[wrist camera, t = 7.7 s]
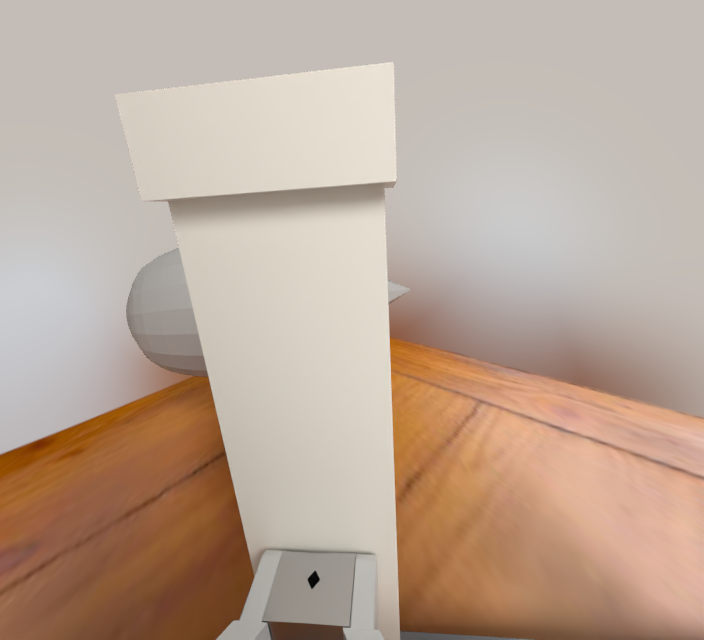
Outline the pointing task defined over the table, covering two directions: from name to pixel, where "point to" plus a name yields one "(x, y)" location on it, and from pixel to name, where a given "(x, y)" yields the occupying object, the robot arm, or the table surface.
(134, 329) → the jet engine
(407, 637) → the console
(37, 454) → the table surface
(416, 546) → the table surface
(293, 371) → the beige rectangular bar
